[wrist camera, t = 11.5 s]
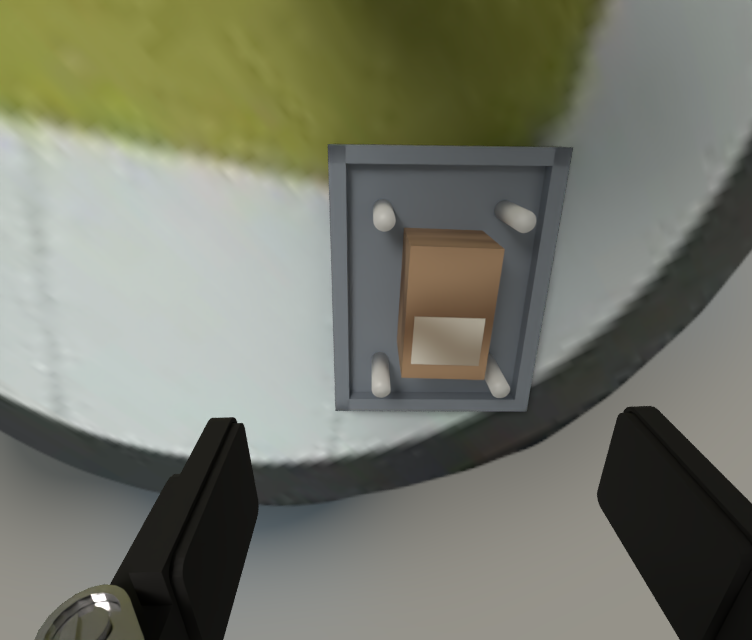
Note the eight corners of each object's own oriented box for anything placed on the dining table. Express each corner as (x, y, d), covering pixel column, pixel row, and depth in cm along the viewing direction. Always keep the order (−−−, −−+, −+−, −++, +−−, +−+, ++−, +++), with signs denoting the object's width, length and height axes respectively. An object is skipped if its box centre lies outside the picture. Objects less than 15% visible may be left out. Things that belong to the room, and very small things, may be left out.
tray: (331, 143, 26) (322, 145, 22) (557, 146, 27) (598, 148, 22) (337, 394, 33) (332, 436, 29) (517, 394, 34) (541, 437, 29)
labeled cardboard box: (403, 227, 27) (410, 246, 23) (482, 230, 27) (505, 249, 23) (396, 341, 30) (401, 378, 26) (467, 343, 31) (484, 380, 26)
